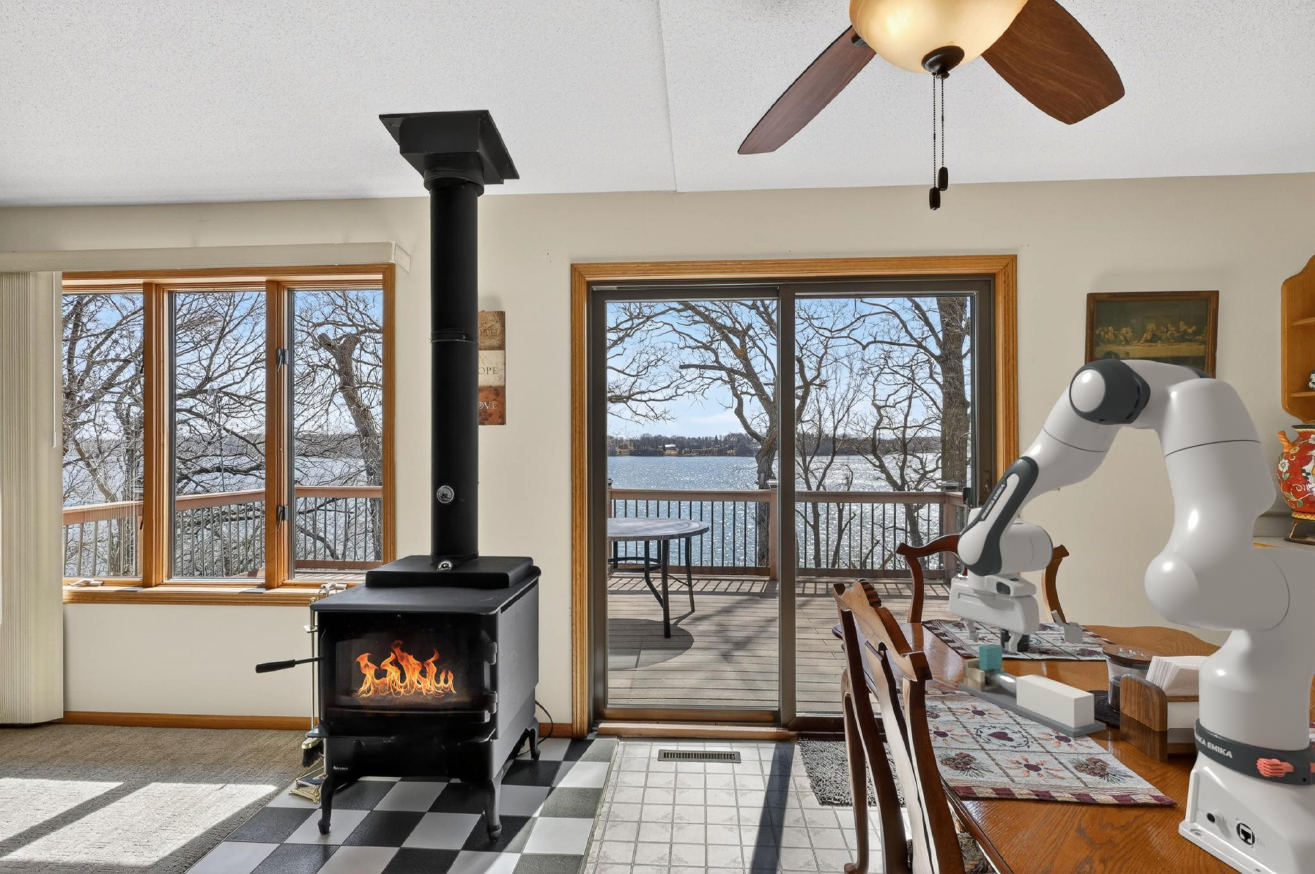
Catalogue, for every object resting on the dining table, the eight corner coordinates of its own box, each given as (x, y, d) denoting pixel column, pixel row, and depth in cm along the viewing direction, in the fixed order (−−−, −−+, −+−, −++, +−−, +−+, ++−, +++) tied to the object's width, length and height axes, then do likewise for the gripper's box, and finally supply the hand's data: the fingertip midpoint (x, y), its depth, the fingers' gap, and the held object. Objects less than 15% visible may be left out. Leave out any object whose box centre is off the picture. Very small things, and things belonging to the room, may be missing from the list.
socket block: (1004, 686, 142) (1004, 662, 142) (980, 691, 139) (980, 666, 139) (987, 679, 146) (986, 656, 146) (963, 684, 143) (963, 660, 143)
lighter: (1081, 641, 177) (1081, 612, 178) (1082, 643, 176) (1082, 613, 176) (1051, 638, 181) (1050, 609, 181) (1051, 640, 179) (1051, 610, 179)
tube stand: (1106, 729, 123) (1105, 694, 123) (1072, 737, 119) (1072, 701, 119) (988, 682, 147) (988, 654, 147) (958, 688, 143) (957, 659, 143)
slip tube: (1052, 703, 130) (1052, 663, 130) (1037, 706, 128) (1036, 665, 128) (988, 678, 144) (988, 642, 144) (973, 681, 142) (973, 644, 142)
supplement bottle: (994, 646, 174) (994, 600, 174) (1012, 642, 177) (1011, 598, 177) (1018, 653, 168) (1017, 606, 168) (1036, 649, 170) (1035, 603, 171)
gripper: (941, 573, 149) (942, 634, 149) (1021, 590, 130) (1023, 660, 130) (962, 571, 152) (963, 632, 151) (1044, 587, 133) (1045, 656, 132)
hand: (991, 645), depth 140 cm, fingers open, 8 cm apart
